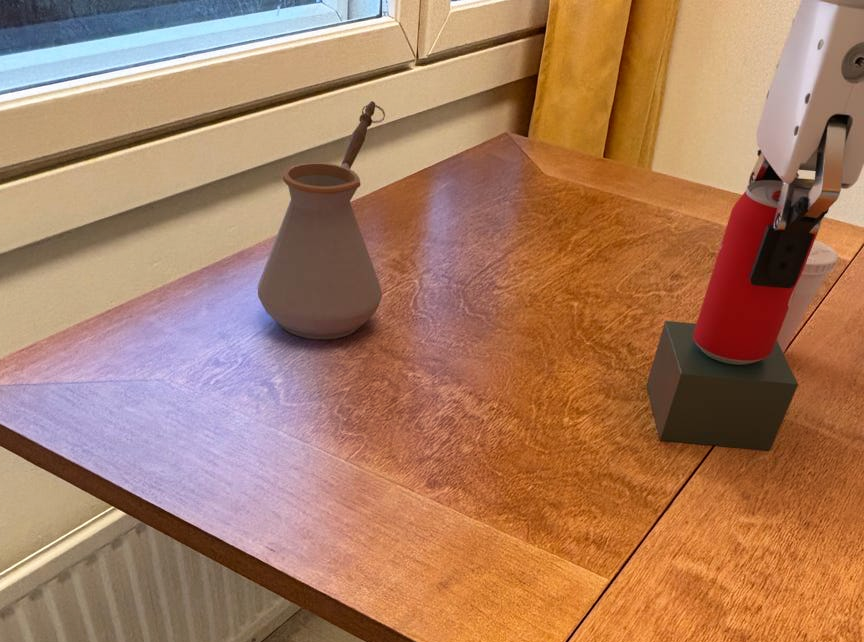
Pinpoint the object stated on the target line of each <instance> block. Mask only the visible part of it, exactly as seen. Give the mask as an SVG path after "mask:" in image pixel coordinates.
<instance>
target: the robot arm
mask: <svg viewBox="0 0 864 642" xmlns="http://www.w3.org/2000/svg"><path fill="white" fill-rule="evenodd" d="M756 143H757V147H758V148H759V149H758V150H757V156H758V157H757V161H756V162H755V164H754V166H753V169H752V171H751V173H750V176H749V179H748V185H749V184H750V183H752V182H755V181H762V180H775V181H783V185H782V189H781V193H780V198H779V202H778V207H777V211H776V216H775V220H774V225H767V228H766V231H765V233H764V236H763V239H762V242H761V245H760V248H759V251H758V253H757V256H756V259H755V262H754V265H753V268H752V271H751V273H750V276H749V280H750V282H751V284H752V285H756V286H767V287H778V288H792V287H793V286H794V285H795V284H796V281H797V279H798V276H799V274H800V271H801V269H802V266H803V263H804V261H805V258H806V256H807V253H808V251H809V248H810V245H811V243H812V240H813V238H814V235H815V234H816V233H817V232H818V233H819V231H820V229H821V224H822V220H823V219H824V217H825V216H826V215H827V214H828V212H829V210H830V208H831V207H832V206H833V205H834V204H835V202H837V200H838V199H839V197H840V194H841V191H842V189H843V190H845V189H846V190H847V189H850V188H852V187H853V186H854V185H855V184H856V183H857V181H858V180H859V178H860V176H861V173H862V170H863V168H864V0H800V2H799V5H798V7H797V10H796V12H795V15H794V17H793V19H792V23H791V26H790V28H789V31H788V33H787V36H786V39H785V42H784V45H783V47H782V50H781V53H780V56H779V59H778V61H777V64H776V67H775V70H774V73H773V76H772V79H771V81H770V85H769V88H768V91H767V93H766V97H765V100H764V104H763V108H762V110H761V113H760V118H759V121H758V126H757V130H756ZM799 171H808V172H809V171H810V172H815V173H814V178H813V179H811V178H802V177H801V178H800V174H799V173H798V172H799ZM795 190H800V191H809V194H808V196H807V197H800V198H799V199H798V201H797V202H796V203H795V204H794V205H793V206H792V207H791V205H792V201H793V197H794V192H795ZM818 230H819V231H818ZM818 233H817V234H818Z"/></svg>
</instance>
